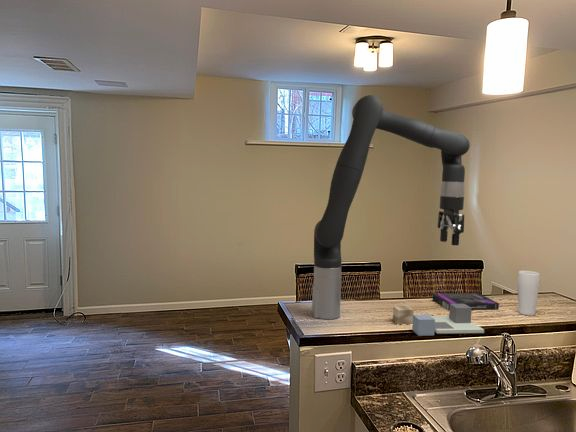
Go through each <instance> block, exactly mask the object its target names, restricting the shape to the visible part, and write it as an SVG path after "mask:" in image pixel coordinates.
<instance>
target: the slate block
mask: <svg viewBox="0 0 576 432" xmlns="http://www.w3.org/2000/svg"><path fill="white" fill-rule="evenodd" d="M431 316H432V315H430V314H413V325H411V326H412V328H411V330H412V331H413V333H414V334H416V335H417V336H421V337H422V336H435V319H434V318H432V317H431Z"/></svg>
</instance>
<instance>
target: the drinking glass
mask: <svg viewBox="0 0 576 432" xmlns="http://www.w3.org/2000/svg"><path fill="white" fill-rule="evenodd" d="M540 277H541V275H540V273H539V272H537V271H533V270H519V271H518V275H517V298H518V299H517V300H518V308H517V310H518V313H519V314H520V315H522V316H529V317H530V316H535V315H536V311H537V309H536V307H537V303H538V295H539V289H540V279H541V278H540Z"/></svg>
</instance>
